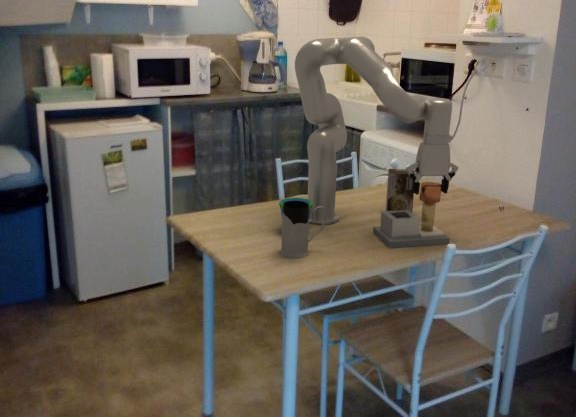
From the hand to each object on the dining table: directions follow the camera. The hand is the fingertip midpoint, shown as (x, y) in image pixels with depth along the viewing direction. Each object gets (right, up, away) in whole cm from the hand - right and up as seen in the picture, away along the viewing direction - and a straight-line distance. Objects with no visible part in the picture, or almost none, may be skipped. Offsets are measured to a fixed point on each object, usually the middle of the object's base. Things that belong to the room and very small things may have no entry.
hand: (429, 192), depth 196 cm
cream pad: (0, -12, +4) cm, 13 cm away
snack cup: (-42, -13, +6) cm, 45 cm away
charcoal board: (-6, -14, +3) cm, 16 cm away
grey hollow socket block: (-9, -13, +2) cm, 16 cm away
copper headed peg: (0, -12, +4) cm, 12 cm away
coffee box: (-5, -7, +26) cm, 27 cm away
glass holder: (-40, -18, -10) cm, 45 cm away
